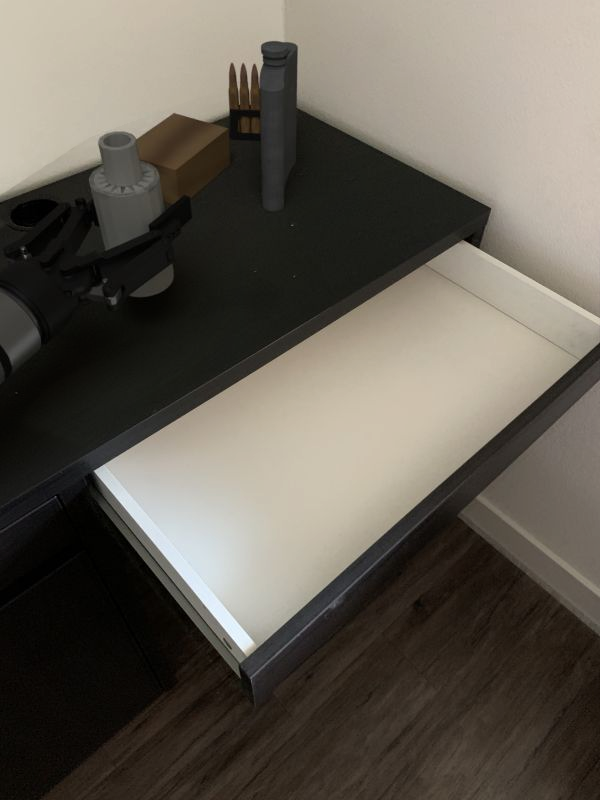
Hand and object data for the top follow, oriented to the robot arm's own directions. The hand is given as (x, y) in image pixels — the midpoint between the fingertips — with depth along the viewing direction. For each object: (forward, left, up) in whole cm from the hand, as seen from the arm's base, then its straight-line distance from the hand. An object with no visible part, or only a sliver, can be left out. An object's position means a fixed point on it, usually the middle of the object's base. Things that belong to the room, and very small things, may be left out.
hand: (159, 197), depth 75 cm
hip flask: (-1, +29, -14) cm, 32 cm away
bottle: (0, -5, -8) cm, 9 cm away
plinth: (-15, +23, -13) cm, 31 cm away
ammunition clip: (-10, +40, -14) cm, 43 cm away
